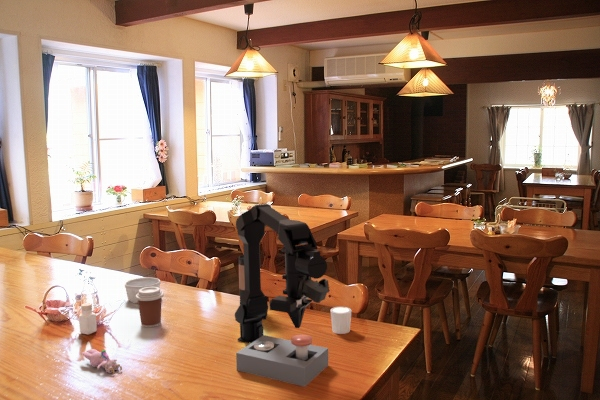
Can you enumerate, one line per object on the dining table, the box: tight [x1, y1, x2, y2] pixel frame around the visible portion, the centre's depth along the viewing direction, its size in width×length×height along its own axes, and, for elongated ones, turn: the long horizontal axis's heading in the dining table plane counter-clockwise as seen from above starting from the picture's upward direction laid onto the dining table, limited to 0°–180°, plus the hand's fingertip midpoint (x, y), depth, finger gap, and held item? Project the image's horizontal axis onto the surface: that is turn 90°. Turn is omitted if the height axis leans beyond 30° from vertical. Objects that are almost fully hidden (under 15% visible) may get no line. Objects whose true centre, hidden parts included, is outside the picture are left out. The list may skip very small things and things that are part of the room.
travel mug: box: [238, 254, 245, 298], centre depth 196 cm, size 8×8×20 cm
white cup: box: [329, 306, 352, 335], centre depth 176 cm, size 7×7×7 cm
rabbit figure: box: [81, 348, 123, 376], centre depth 152 cm, size 6×6×15 cm
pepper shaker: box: [78, 302, 98, 336], centre depth 178 cm, size 4×4×10 cm
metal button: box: [254, 341, 274, 353], centre depth 153 cm, size 6×6×6 cm
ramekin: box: [124, 276, 161, 304], centre depth 212 cm, size 13×13×7 cm
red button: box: [290, 334, 313, 361], centre depth 147 cm, size 6×6×6 cm
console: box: [235, 334, 329, 388], centre depth 150 cm, size 21×14×5 cm, turn 61°
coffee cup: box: [135, 287, 164, 328], centre depth 185 cm, size 9×9×12 cm
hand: (297, 327), depth 146 cm, fingers closed
